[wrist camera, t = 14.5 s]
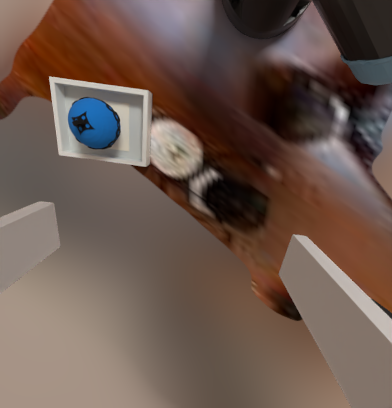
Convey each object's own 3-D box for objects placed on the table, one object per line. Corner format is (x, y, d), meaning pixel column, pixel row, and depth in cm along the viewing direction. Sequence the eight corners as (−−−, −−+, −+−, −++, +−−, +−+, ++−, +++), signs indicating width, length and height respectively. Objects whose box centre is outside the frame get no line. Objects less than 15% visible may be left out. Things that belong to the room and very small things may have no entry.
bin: (61, 81, 36) (49, 76, 33) (152, 93, 36) (148, 90, 33) (69, 153, 40) (59, 155, 38) (149, 164, 41) (145, 166, 38)
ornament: (116, 94, 35) (84, 80, 26) (135, 139, 38) (112, 141, 29) (77, 110, 37) (34, 102, 27) (98, 153, 39) (66, 159, 30)
